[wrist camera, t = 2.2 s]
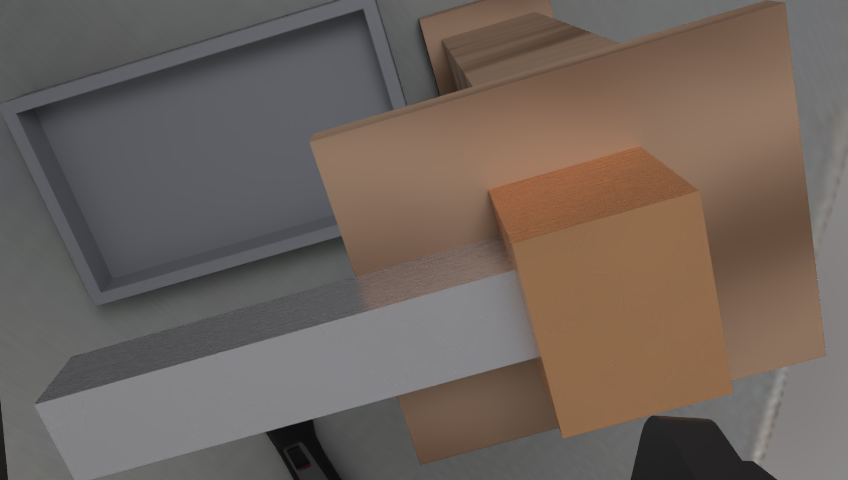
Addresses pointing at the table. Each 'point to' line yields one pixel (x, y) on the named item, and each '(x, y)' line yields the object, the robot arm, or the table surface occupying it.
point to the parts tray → (203, 147)
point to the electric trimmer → (302, 452)
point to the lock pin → (435, 328)
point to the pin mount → (576, 143)
